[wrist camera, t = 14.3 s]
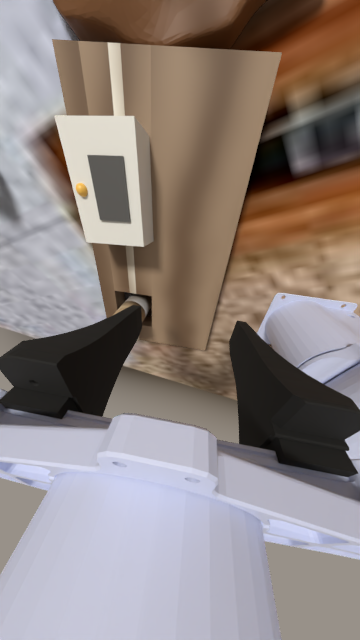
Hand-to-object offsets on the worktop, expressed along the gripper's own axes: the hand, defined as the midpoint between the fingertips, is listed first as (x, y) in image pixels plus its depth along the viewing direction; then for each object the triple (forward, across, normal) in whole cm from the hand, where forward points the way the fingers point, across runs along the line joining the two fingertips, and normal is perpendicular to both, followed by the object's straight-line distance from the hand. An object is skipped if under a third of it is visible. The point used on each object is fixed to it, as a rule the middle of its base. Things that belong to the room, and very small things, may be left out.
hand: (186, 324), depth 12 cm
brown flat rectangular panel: (+9, +4, -3) cm, 11 cm away
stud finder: (+7, +7, -8) cm, 13 cm away
